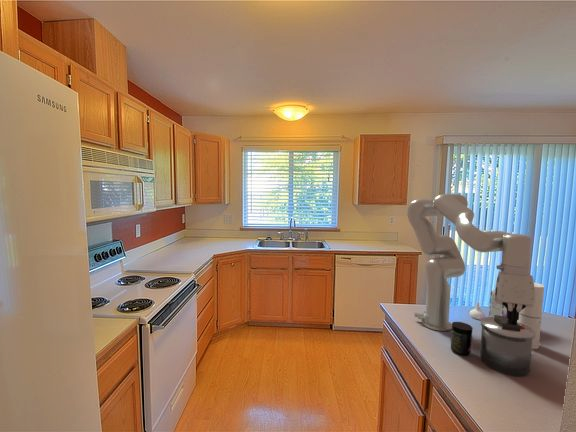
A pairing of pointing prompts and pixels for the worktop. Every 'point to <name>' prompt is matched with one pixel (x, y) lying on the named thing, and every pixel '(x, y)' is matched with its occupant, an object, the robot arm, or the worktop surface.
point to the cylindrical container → (534, 314)
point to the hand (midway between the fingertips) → (512, 321)
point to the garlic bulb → (477, 312)
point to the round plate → (507, 327)
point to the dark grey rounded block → (506, 353)
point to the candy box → (497, 307)
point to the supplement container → (461, 338)
